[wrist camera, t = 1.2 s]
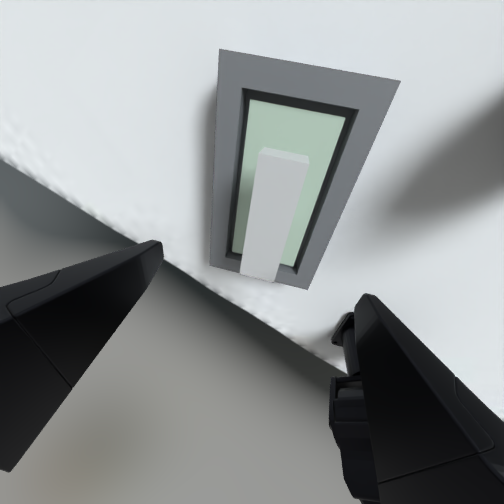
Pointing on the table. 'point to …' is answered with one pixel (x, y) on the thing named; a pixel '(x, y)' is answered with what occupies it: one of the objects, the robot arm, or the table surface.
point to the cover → (280, 183)
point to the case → (303, 97)
